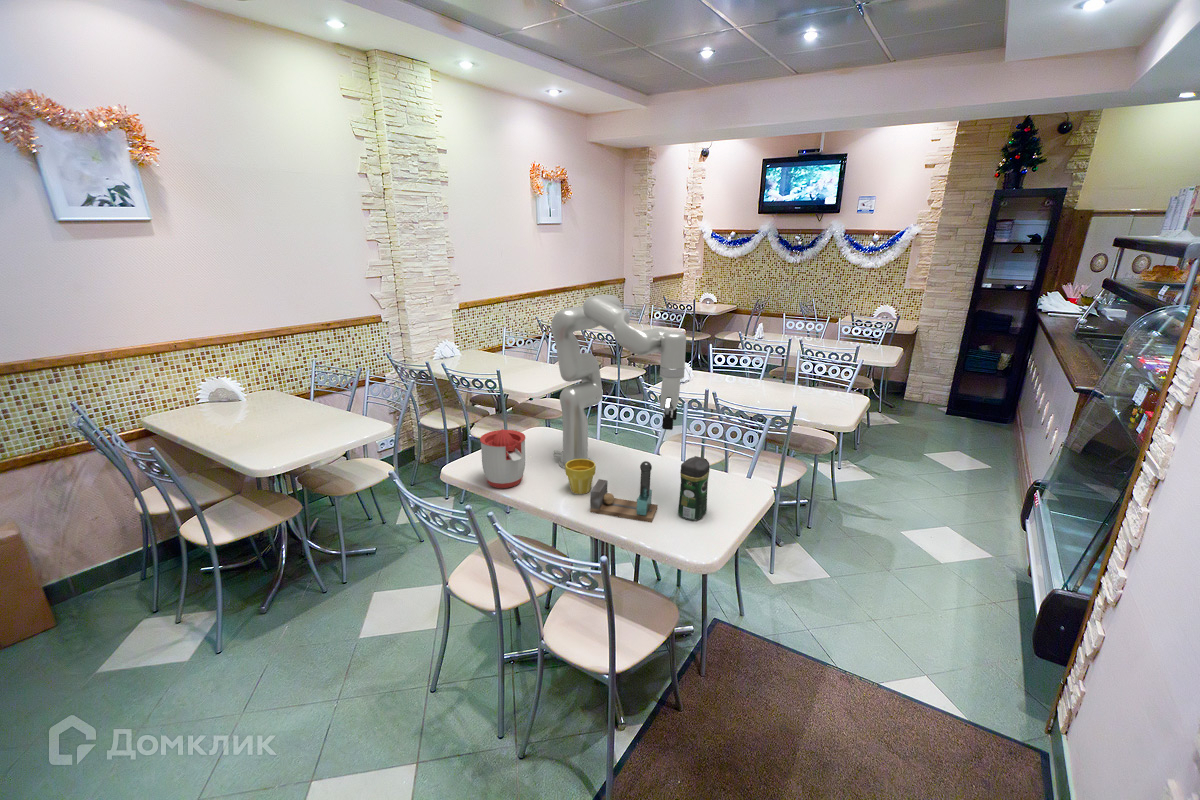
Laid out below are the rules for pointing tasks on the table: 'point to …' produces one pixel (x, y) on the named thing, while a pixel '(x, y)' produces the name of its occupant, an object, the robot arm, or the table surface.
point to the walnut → (608, 498)
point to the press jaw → (644, 489)
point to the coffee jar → (693, 488)
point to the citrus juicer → (503, 457)
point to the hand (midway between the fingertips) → (669, 424)
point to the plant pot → (580, 475)
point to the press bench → (617, 505)
